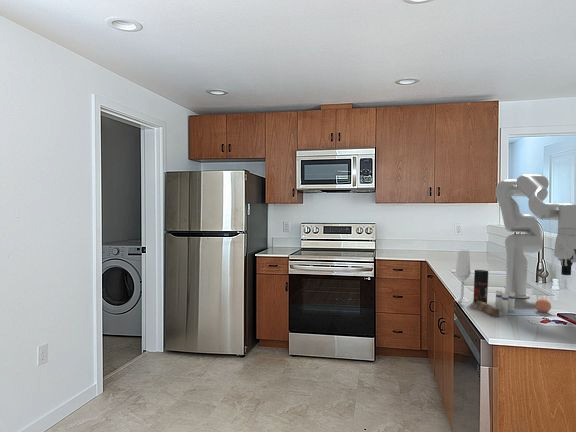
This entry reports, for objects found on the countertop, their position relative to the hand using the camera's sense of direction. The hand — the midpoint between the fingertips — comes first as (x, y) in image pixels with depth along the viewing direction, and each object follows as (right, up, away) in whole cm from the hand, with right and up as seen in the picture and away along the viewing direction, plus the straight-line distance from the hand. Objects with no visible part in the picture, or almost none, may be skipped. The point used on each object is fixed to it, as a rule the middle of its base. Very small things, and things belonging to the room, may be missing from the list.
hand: (566, 274), depth 195 cm
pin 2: (-28, -16, -3) cm, 33 cm away
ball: (-10, -13, 0) cm, 17 cm away
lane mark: (-20, -16, 0) cm, 26 cm away
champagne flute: (-37, -15, +21) cm, 45 cm away
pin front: (-24, -16, 0) cm, 29 cm away
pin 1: (-28, -16, +2) cm, 32 cm away
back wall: (-34, -16, -1) cm, 38 cm away
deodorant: (-30, -16, +18) cm, 38 cm away
